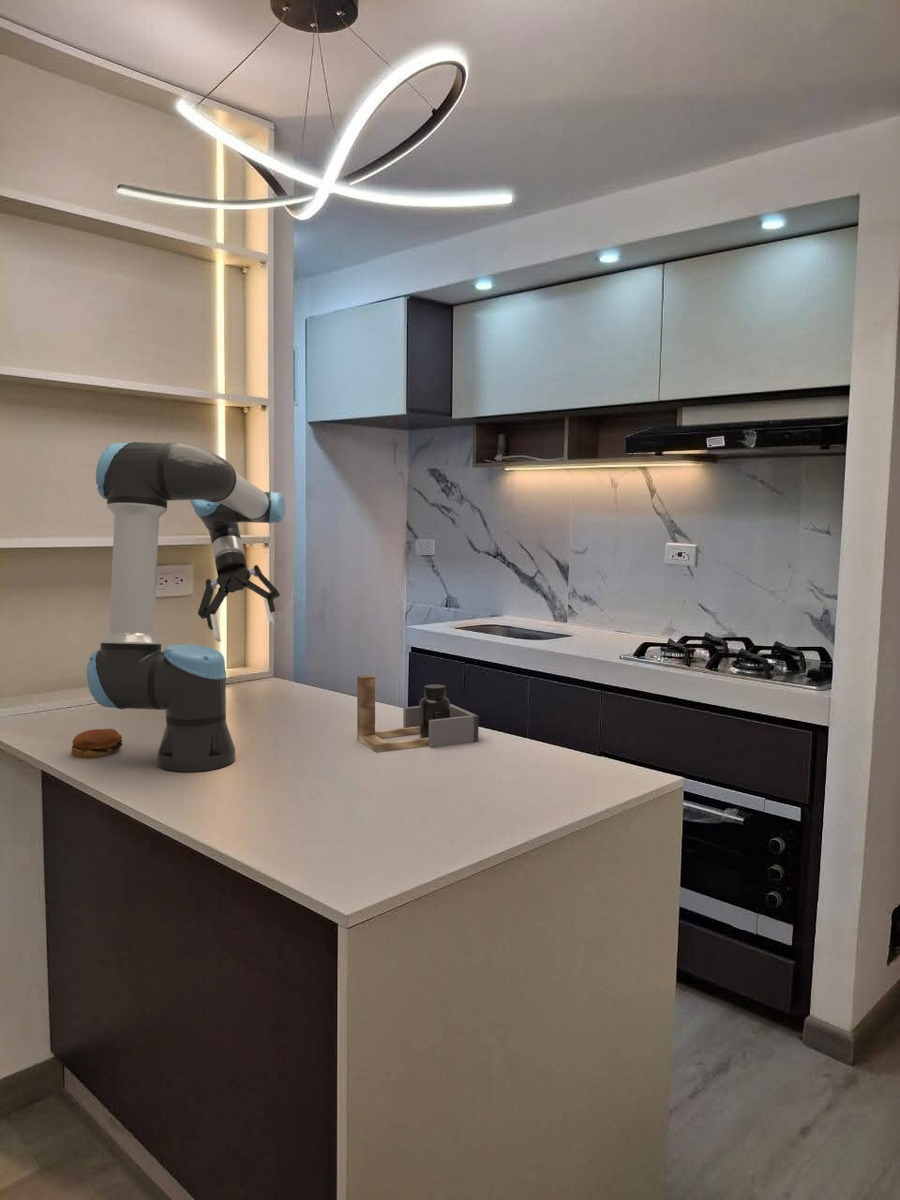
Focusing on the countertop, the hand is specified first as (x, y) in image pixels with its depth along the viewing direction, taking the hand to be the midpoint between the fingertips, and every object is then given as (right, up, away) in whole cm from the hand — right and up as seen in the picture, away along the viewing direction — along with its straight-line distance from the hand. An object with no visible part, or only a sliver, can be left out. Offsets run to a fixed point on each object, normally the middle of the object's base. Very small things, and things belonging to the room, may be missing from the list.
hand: (244, 631), depth 217 cm
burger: (-24, -24, -31) cm, 46 cm away
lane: (+48, -23, -16) cm, 56 cm away
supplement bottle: (+47, -24, -17) cm, 55 cm away
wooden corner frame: (+42, -23, -20) cm, 52 cm away
